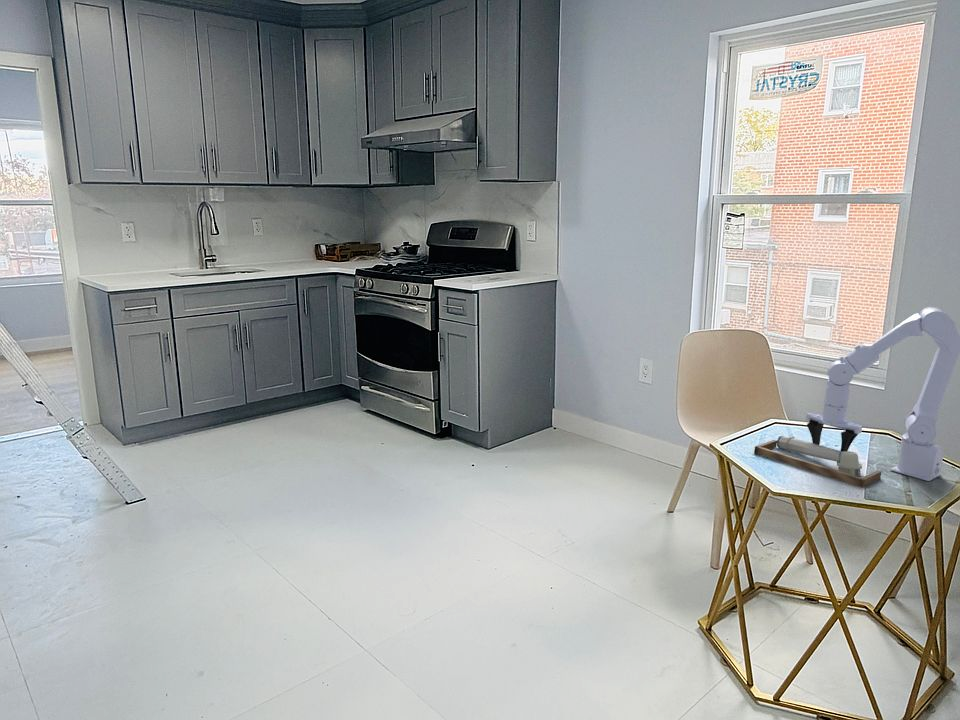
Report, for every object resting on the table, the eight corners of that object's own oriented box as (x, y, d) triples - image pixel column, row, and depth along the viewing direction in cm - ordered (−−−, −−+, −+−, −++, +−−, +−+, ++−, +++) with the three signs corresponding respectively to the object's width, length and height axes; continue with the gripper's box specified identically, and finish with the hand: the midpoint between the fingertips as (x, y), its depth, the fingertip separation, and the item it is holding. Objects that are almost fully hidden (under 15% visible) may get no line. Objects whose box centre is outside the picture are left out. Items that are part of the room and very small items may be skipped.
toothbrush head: (787, 434, 203) (867, 449, 180) (787, 456, 203) (866, 474, 181) (774, 436, 200) (853, 452, 178) (775, 458, 201) (853, 477, 179)
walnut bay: (880, 478, 180) (881, 471, 179) (862, 487, 174) (863, 480, 173) (773, 446, 203) (773, 439, 202) (754, 453, 197) (754, 446, 196)
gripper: (802, 400, 193) (796, 446, 196) (855, 413, 181) (848, 461, 184) (815, 396, 197) (809, 441, 200) (868, 409, 185) (861, 456, 188)
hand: (829, 451), depth 192 cm, fingers open, 7 cm apart
